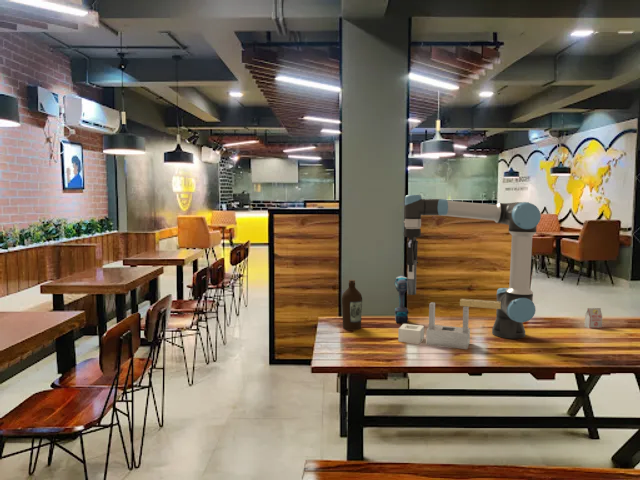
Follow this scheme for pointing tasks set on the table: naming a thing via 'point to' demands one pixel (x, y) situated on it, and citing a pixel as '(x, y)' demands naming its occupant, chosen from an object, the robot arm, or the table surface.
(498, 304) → the rectangular wooden block
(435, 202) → the robot arm
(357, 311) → the olive oil
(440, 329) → the grey post stand
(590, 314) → the milk carton
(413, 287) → the smooth metal cylinder
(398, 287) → the impact wrench
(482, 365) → the table surface
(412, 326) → the cream square block
